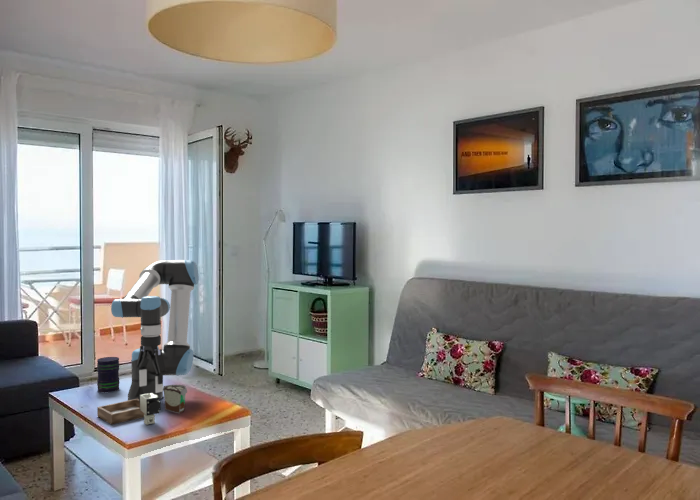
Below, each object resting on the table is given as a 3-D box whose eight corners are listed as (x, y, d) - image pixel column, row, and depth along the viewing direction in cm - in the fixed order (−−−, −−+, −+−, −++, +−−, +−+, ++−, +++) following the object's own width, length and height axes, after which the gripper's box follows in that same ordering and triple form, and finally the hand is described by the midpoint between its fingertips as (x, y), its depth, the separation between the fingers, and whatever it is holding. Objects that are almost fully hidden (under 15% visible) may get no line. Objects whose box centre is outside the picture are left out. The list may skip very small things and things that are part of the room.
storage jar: (115, 386, 280) (115, 355, 280) (122, 390, 273) (122, 359, 272) (94, 389, 274) (94, 358, 273) (100, 393, 266) (100, 362, 266)
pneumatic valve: (148, 428, 219) (148, 397, 219) (138, 420, 228) (138, 391, 228) (162, 425, 223) (162, 395, 222) (152, 417, 232) (152, 388, 232)
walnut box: (137, 407, 245) (137, 398, 245) (152, 414, 236) (152, 405, 235) (97, 416, 233) (97, 407, 233) (111, 424, 223) (111, 414, 223)
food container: (193, 410, 242) (193, 387, 241) (181, 414, 237) (181, 390, 236) (174, 405, 249) (174, 382, 248) (162, 409, 244) (162, 385, 243)
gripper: (127, 332, 231) (127, 384, 231) (157, 340, 213) (157, 396, 214) (145, 330, 236) (145, 381, 236) (175, 338, 219) (175, 392, 219)
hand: (151, 388), depth 225 cm, fingers open, 13 cm apart
